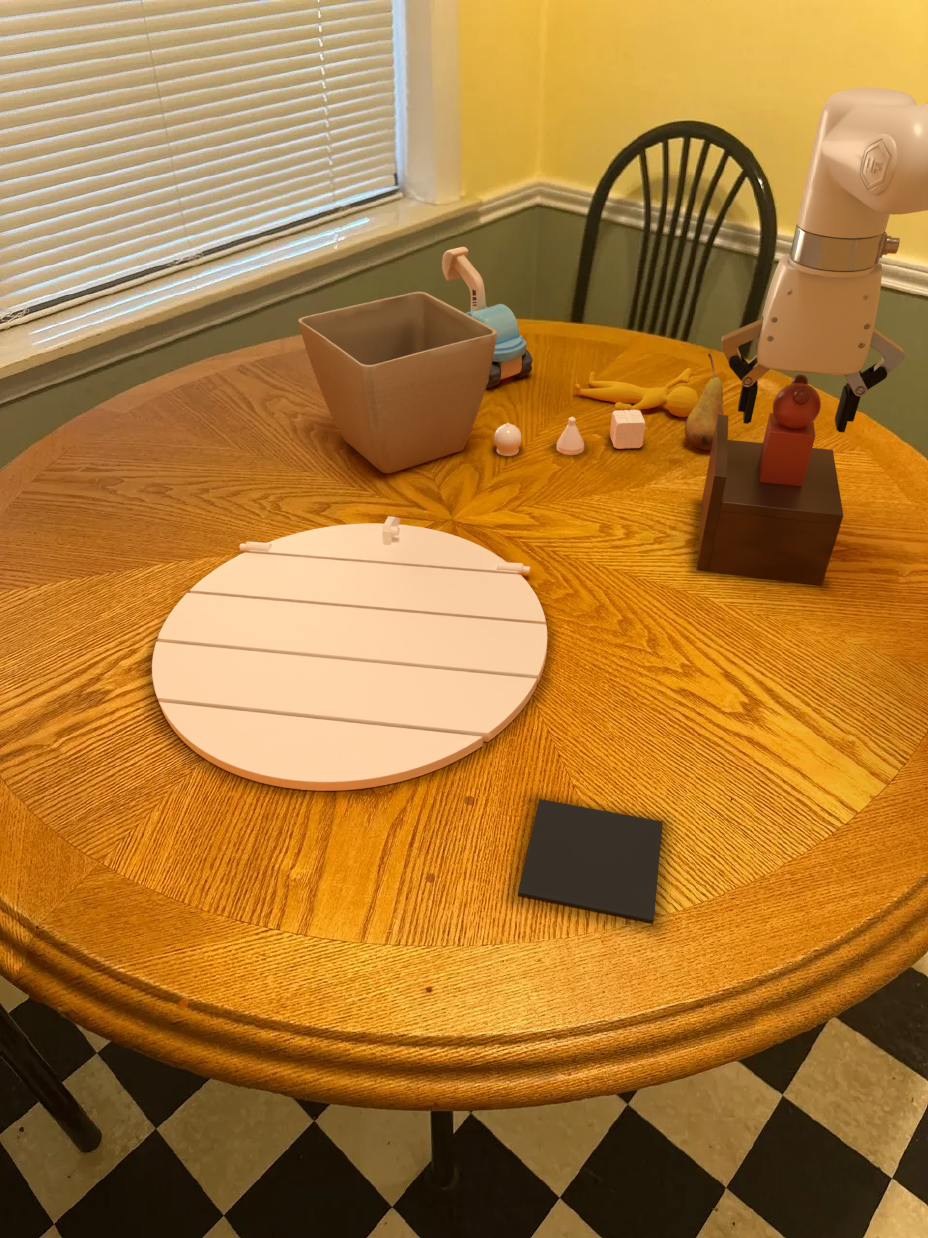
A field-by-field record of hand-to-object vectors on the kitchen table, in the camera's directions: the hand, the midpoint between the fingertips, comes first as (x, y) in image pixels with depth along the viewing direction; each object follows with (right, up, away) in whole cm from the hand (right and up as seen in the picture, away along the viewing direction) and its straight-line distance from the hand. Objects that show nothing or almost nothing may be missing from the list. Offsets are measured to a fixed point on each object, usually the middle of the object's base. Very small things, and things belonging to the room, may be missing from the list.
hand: (792, 421), depth 89 cm
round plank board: (-45, -22, -1) cm, 51 cm away
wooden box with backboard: (0, -12, +10) cm, 15 cm away
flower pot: (-42, +3, +30) cm, 52 cm away
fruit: (-2, +3, +28) cm, 28 cm away
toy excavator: (-31, +20, +49) cm, 61 cm away
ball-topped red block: (0, -5, +4) cm, 6 cm away
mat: (-24, -39, -23) cm, 51 cm away
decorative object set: (-20, +3, +28) cm, 35 cm away
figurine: (-9, +11, +38) cm, 40 cm away
